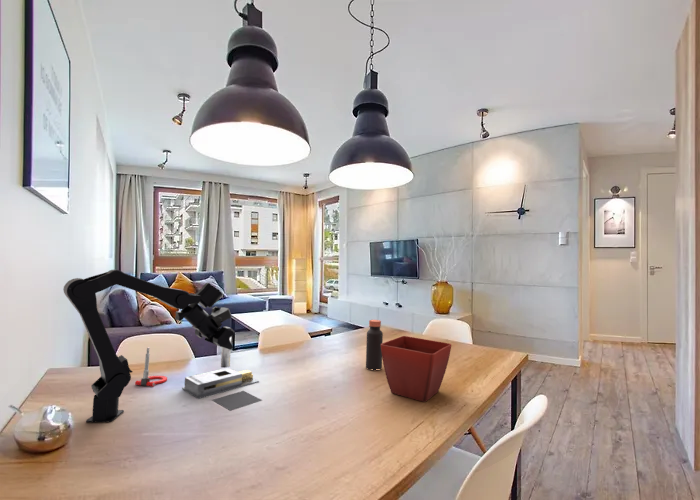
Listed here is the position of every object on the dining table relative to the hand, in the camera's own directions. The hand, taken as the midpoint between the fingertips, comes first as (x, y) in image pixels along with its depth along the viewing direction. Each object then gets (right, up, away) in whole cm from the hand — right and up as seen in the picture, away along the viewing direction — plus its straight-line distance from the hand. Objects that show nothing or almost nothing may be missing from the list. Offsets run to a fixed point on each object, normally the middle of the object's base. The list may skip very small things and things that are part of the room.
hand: (229, 347), depth 120 cm
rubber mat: (+7, -13, -12) cm, 19 cm away
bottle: (+52, -16, +25) cm, 60 cm away
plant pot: (+65, -16, 0) cm, 67 cm away
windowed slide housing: (-3, -13, 0) cm, 14 cm away
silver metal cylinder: (-1, -6, -1) cm, 6 cm away
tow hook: (-28, -13, +2) cm, 31 cm away
